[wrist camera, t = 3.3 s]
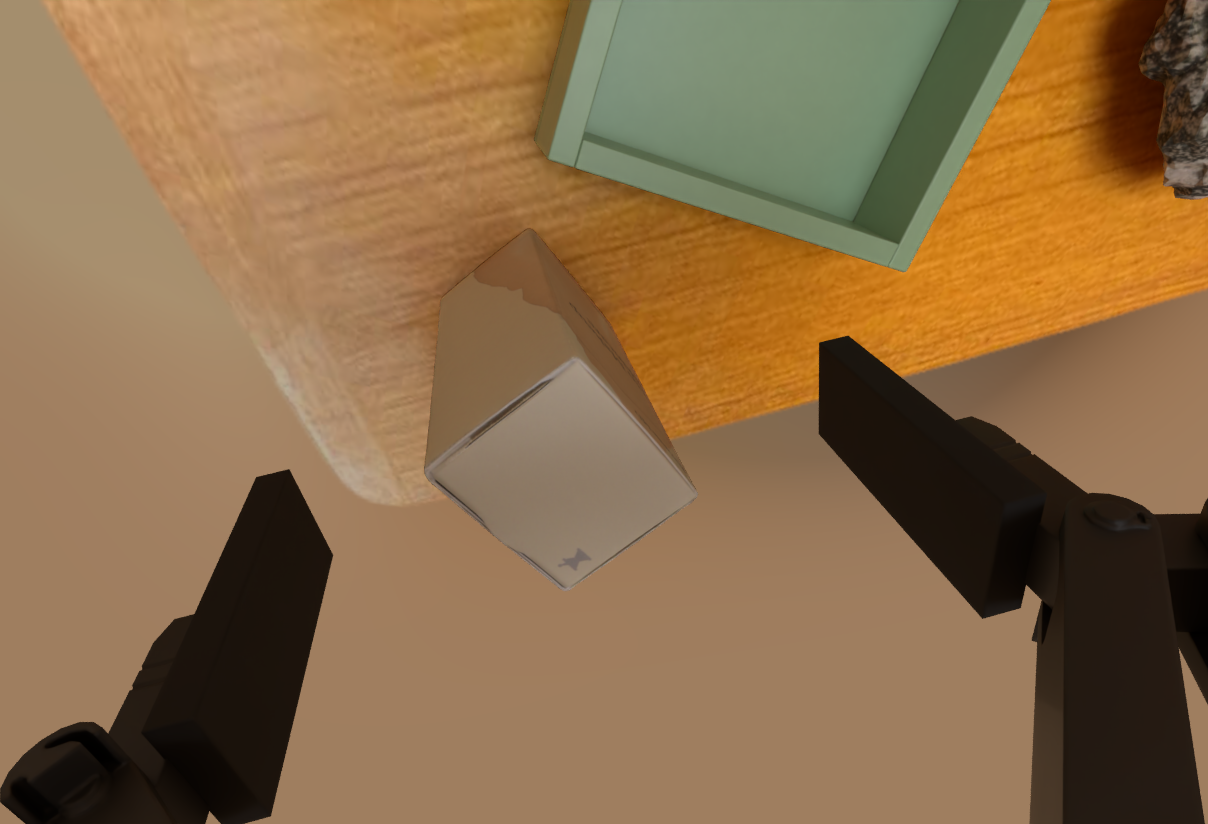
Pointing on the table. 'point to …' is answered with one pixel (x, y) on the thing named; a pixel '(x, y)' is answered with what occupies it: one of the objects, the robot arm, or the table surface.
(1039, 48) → the table surface
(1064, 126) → the table surface
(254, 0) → the table surface
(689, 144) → the bottle bin
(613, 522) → the box
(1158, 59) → the rock
